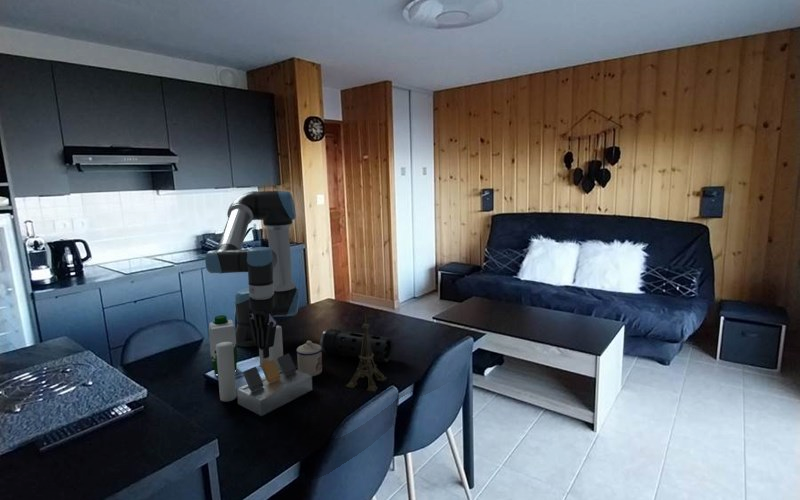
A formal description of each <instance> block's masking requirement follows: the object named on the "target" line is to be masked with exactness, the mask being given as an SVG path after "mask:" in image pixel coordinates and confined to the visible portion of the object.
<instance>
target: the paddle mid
mask: <svg viewBox="0 0 800 500" xmlns="http://www.w3.org/2000/svg"><path fill="white" fill-rule="evenodd" d="M261 367H262V368H261ZM261 367H260V368H261V370H262V372H263V375H264V377H266V379H267V382H268V383H269V384H270V383H273V382H275V381H277V380H279V379H281V377H280V374H279V372H278V369H277V367H276V365H275V362H274V360H271V361H269V362H266V363H264V364H262V365H261Z"/></svg>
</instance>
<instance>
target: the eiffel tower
mask: <svg viewBox="0 0 800 500" xmlns="http://www.w3.org/2000/svg"><path fill="white" fill-rule="evenodd" d="M364 321H365V322H364V323H363V324H362V325H361V326H362V327H361V328H362V329H363V332H362V334H363V342H362V350H361V355H359V358H360V359H359V358H358V359H359V362H358V363H359V364H358V366H357V368H356V371H355V372H354V374H353V376H352V377H351V379H350V381H349V383H347V384H346V385H345V387H348V388H351V389H352V388H353V389H354V387H356V386H357V385H358V382H357V381H358V380H359V378H363V379H364V378H365V377H367V379H368V381H367V382H368V383H367V384H368V387H367V389H366V391H369V392H374V393H375V392H376V391H377V390H378V388H379V387H378V386H377V384H376V382H375V381H374V379H373V374H374V376H375V377H376V381H380V382H385V381H386V380H387V379H388V377H387V376H385V375H384V374H383V373H382V371H381V370H380V369H378V367H377V364H376V362H375V361H374V360H373V356H374V354H373V353H372V352H371V346H370V339H369V335H370V333H369V328H370V327H371V326H370V324H369V323H367V316H366V312H365V318H364Z"/></svg>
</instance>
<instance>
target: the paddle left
mask: <svg viewBox="0 0 800 500" xmlns="http://www.w3.org/2000/svg"><path fill="white" fill-rule="evenodd" d="M242 374H243V377H244V379H245V382H246V385H247V384H248V387H249V389H250V390H251V392H253V391H255V390H257V389H259V388H262V387H263V386H264V385H263V381H262V379H261V378H262V377H261V374H260V373H259V370H258V368H257V366H254V367H252V368H250V369H246V370H244V371H243V372H242Z"/></svg>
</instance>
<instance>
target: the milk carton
mask: <svg viewBox="0 0 800 500" xmlns="http://www.w3.org/2000/svg"><path fill="white" fill-rule="evenodd" d="M227 318H228V317H227V315H218V316H217V315H216V316H215V317H214V321H213V322H209V324H208V325H209V326H208V337H209V349H210V360H211V364H212V368H213V371H214V374H218V366H217V354H216V345H217V344H219V343H221V342H232V343H233V352H234V365H235V370H236V369H237V368H238V367H237V366H238V350H237V348H238V346H237V345H236V335H235V333H236V332H235V331H236V327H235V324H234V322H233V320H232V319H227ZM236 371H237V370H236Z"/></svg>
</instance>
